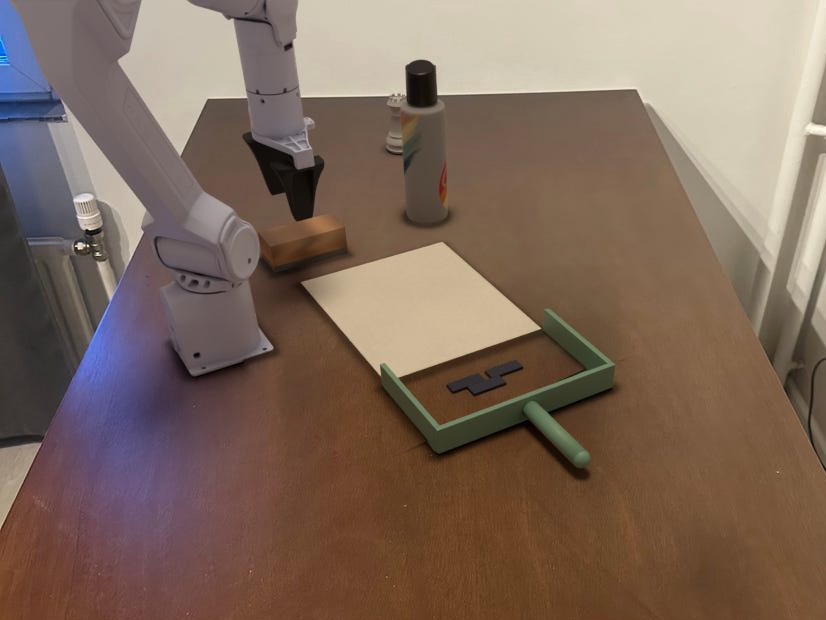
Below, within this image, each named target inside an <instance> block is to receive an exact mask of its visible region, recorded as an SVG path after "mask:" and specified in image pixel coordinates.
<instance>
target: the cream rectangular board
mask: <svg viewBox="0 0 826 620" xmlns="http://www.w3.org/2000/svg"><path fill="white" fill-rule="evenodd" d="M300 283H301V285H302V286H303V287H304V288H305V290H306V291H307V292H308V293H309V294H310V295H311V297H312V298H313V299H314V300H315V301H316V302H317V304H318V305H319V306H320V307H321V308H322V309H323V310H324V312H325V313H326V314H327V315H328V316H329V318H330V319H331V320H332V321H333V322H334V323H335V325H336V327H338V328H339V329H340V331H341V332H342V333H343V334H344V335H345V337H346V338H347V339H348V340H349V342H351V344H352V345H353V346H354V347H355V348H356V350H358V352H359V353H360V354H361V356H362V357H363V358H364V359H365V360H366V361H367V362H368V363H369V365H370V366H371V367H372V368H373V369H374V370H375V372H376V373H377V374H378V375H379V376H380V377H381V371H380V364H382V363H385V364H386V365H387V366H388V367H389V368H390V369H391V371H392V372H393V373H394V374H395V375H396V376H397V377H398V379H400V378H402V377H404V376H407V375H410V374H414V373H417V372H420V371H422V370H425V369H428V368H431V367H433V366H437V365H440V364H442V363H445V362H449V361H451V360H455V359H457V358H460V357H464V356H466V355H469V354H472V353H475V352H477V351H478V352H479V351H481V350H484V349H487V348H489V347H492V346H496V345H499V344H501V343H504V342H508V341H510V340H513V339H516V338H519V337H521V336H525V335H528V334H530V333H533V332H536V331H539V330H542V327H540V326H539V324H537V323H536V322H534V320H532V319H531V318H530V317H529V316H528V315H527V314H526V313H524V311H522V310H521V309H520V308H519V307H518V306H516V305H515V304H514V303H513V302H512V301H510V300H509V298H507V297H506V296H505V295H504V294H503V293H502V292H500V291H499V290H498V289H497V288H496V287H495V286H493V285H492V283H490V282H489V281H488V280H487V279H486V278H484V277H483V276H482V275H481V274H480V273H479V272H478V271H476V270H475V269H474V268H473V267H472V266H471V265H470V264H469V263H467V262H466V261H465V259H463V258H462V257H461V256H459V254H457V253H456V252H455V251H454V250H452V248H451V247H449V246H448V245H447V244H446V243H445V242H443V241H440V242H436V243H433V244H430V245H427V246H422V247H420V248H416V249H411V250H409V251H405V252H402V253H398V254H394V255H392V256H388V257H383V258H380V259H378V260H374V261H370V262H366V263H362V264H360V265H356V266H352V267H349V268H345V269H341V270H339V271H334V272H331V273H329V274H325V275H321V276H318V277H313V278H311V279H306V280H304V281H300Z"/></svg>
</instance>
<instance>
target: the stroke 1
mask: <svg viewBox="0 0 826 620" xmlns="http://www.w3.org/2000/svg"><path fill="white" fill-rule="evenodd" d="M484 380H486V378H484V377H483V375H481V374H480V372H477V373H474V374H471V375H468V376H465V377H462V378H460V379H457V380H454V381H451V382H448V383H446V386H445V387H446V388H447V389H448V390H449V392H451V393H452V395H454V394H457V393H460V392H463V391H465V390H466V391H467V390H468V389H467V387H468V386H470V385H473V384H476V383H479V382H481V381H484Z"/></svg>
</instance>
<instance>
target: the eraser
mask: <svg viewBox="0 0 826 620" xmlns="http://www.w3.org/2000/svg"><path fill="white" fill-rule="evenodd" d="M257 237H258V240H259V246H260V251H261V258H262V259H263V260H264V261H265V262H266V264H267V265H268V266H269V267H270V268H271V270H272V271H273V272H274V273H279V272H282V271H287V270H290V269H294V268H297V267H301V266H304V265H308V264H312V263H315V262H319V261H322V260H325V259H329V258H333V257H337V256H340V255H343V254H347V253H348V252H349V251H348V243H347V233H346V227H345V225H344V224H343V223H342V222H341V221H339V219H338V218H336V216H335V215H333V213H331V212H328V213H325V214H321V215H317V216H313V217H312V218H310V219H306V220H302V221H298V222H297V221H294V222H290V223H287V224H282V225H279V226H275V227H271V228H267V229H263V230H259V231H257Z"/></svg>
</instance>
